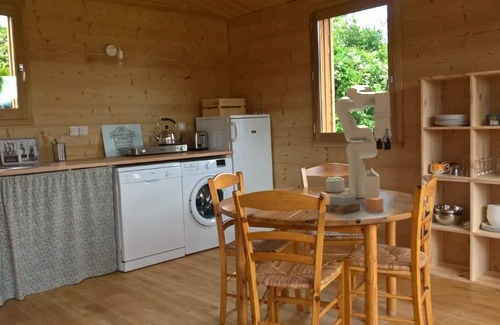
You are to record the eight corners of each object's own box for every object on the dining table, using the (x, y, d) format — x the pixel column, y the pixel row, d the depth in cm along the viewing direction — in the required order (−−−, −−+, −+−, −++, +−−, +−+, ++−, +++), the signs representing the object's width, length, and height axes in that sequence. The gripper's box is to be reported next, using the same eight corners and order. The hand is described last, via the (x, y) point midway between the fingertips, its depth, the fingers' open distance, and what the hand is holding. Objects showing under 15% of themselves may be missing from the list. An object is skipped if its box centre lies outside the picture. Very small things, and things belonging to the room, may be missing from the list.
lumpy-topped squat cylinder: (346, 189, 306) (346, 176, 305) (339, 192, 295) (338, 178, 294) (330, 188, 311) (330, 175, 310) (323, 192, 300) (322, 178, 299)
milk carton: (379, 202, 258) (379, 167, 256) (378, 205, 251) (378, 169, 249) (366, 202, 260) (365, 167, 258) (364, 204, 254) (364, 169, 252)
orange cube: (365, 210, 239) (365, 198, 239) (373, 208, 243) (373, 196, 243) (375, 212, 235) (375, 199, 234) (383, 210, 239) (383, 198, 238)
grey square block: (330, 204, 241) (329, 196, 241) (341, 201, 247) (341, 193, 246) (343, 206, 234) (343, 198, 234) (355, 203, 240) (355, 195, 239)
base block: (325, 212, 242) (325, 204, 241) (341, 208, 249) (341, 200, 249) (344, 215, 232) (344, 207, 232) (360, 211, 240) (360, 203, 239)
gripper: (368, 117, 252) (369, 149, 253) (382, 115, 235) (383, 150, 236) (382, 116, 253) (383, 148, 254) (397, 114, 236) (398, 149, 237)
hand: (383, 149), depth 245 cm, fingers open, 9 cm apart
